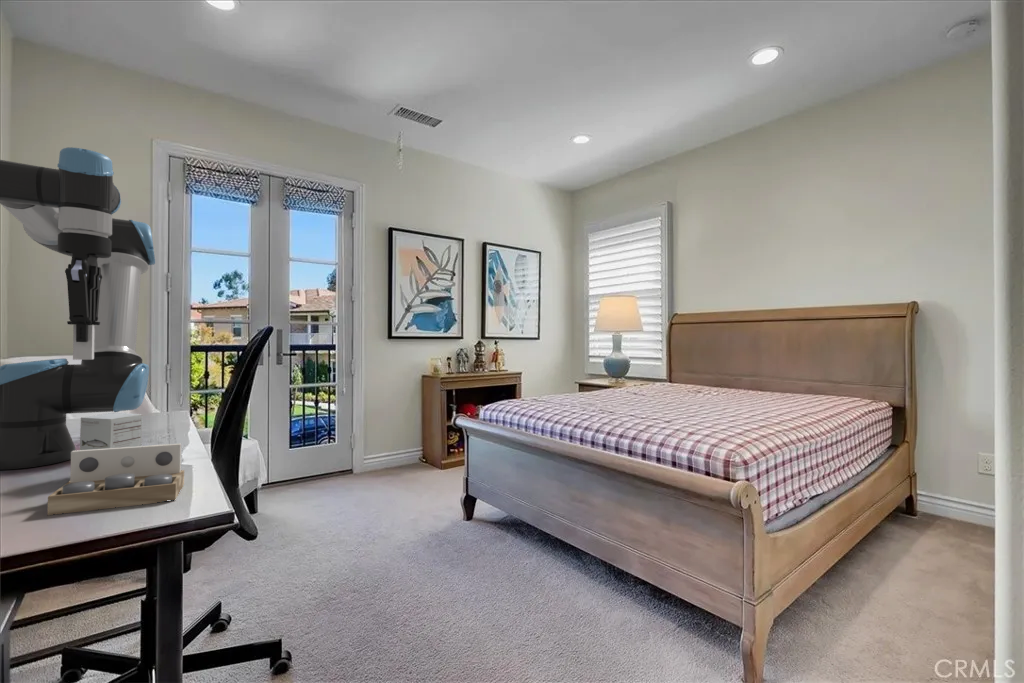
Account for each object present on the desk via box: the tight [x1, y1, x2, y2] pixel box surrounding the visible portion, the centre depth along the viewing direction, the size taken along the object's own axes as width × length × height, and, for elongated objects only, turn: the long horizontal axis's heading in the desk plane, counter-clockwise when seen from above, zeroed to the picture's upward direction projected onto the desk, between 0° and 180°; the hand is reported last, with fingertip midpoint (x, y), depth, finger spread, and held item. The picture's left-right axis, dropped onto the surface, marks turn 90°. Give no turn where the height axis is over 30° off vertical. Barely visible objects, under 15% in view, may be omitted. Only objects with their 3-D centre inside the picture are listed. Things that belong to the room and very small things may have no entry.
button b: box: [105, 473, 135, 490], centre depth 82 cm, size 4×4×2 cm
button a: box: [62, 481, 95, 494], centre depth 80 cm, size 4×4×2 cm
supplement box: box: [79, 412, 144, 450], centre depth 98 cm, size 7×7×13 cm
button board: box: [47, 469, 185, 516], centre depth 84 cm, size 10×17×3 cm, turn 118°
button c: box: [144, 474, 172, 486], centre depth 85 cm, size 4×4×2 cm
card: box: [69, 443, 182, 483], centre depth 87 cm, size 1×16×6 cm, turn 118°
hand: (83, 359), depth 89 cm, fingers closed
